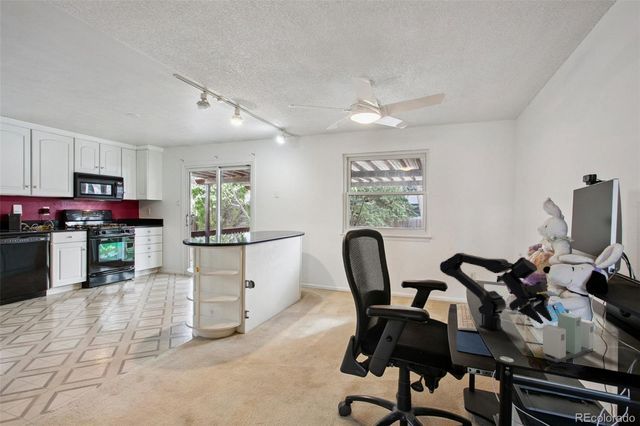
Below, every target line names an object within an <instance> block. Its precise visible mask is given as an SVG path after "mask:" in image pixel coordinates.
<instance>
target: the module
mask: <svg viewBox="0 0 640 426" xmlns="http://www.w3.org/2000/svg"><path fill="white" fill-rule="evenodd" d="M581 319H582V316H581V315H577V314H572V313H569V312H560V313H557V327H560V328H563V329H566V351H567V352H570V353H573V354H576V353H579V352H581Z"/></svg>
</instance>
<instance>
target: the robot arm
mask: <svg viewBox="0 0 640 426" xmlns="http://www.w3.org/2000/svg"><path fill="white" fill-rule="evenodd" d="M464 263H465V264H469V265H471V266H472V265H473V266H478V267H482V268H484V269H486V271H488V272H491V273H493V274H498V275H497V276H496V283H502V282H503V283H504V285H505V286H506V287H507V288H508V289H509V292H508V293H509V294H510V295H513V296H514V297H515V299H514V300H511V301H510V302H509V305H508V307H509V308H510V310H511V311H512V312H515V311H517V313H521V314H523V315H524V316H526V317H527V318H529V319H531V320H533V321H535V322H536V323H538V324H540V325H542V324H544V321H543V319H542V318H544V319H546V320H547V321H549V322H553V318H552V316H551V313H550V311H549V309H548V307H547V302H548V301H549V299H551V297H550V296H549V294H548V293H547V292H548V291H549V290H548V287H549V286H548V284H546V282H544V281H543V280H540V281H536V282H535V284H532V285H530V284H529V283H525V282H524V281H523V280H526V279H527V278H529V277H530V276H532V275H533V274H534V273H536V272H537V271H538V267H537V265H536V264H535V263H534V262H532V261H530V260H529V259H527V258H526V257H524V256H522V257H520V258H519V259H518V260H517V261H516V262H514V263H511V262H509V261H508V260H507V259H505V258H488V257H487V258H486V257H481V256H477V255H472V254H468V253H464V252H457V253H456V252H455V254H454V255H452V256H450V257H449V258H447V259H445V261H444V260H443V261H441V263H440V265H439V270H440V271H441V273H443V274H445V275H446V276H449V277H451V278H453V279H455V280H456V281H457V282H458V283H460V284H461V285H462V286H464V287H465V288H466V289H467V290H468V291H469V292H470V293H472V294H473V295H475V296H476V297H477V298H478V299H479V301H480V303H481V306H479V307H478V312H479V314H481V324H479V327H481V328H484V329H486V330H489V331H491V332H495V331H499V330H503V327H502V325H501V324H502V323H501V322H502V320H501V318H500V317H501V315H500V314H502V313H503V311H504V310H505V309H506V308H507V302H506V300H505V299H504V296H503V295H500V294H499V293H498V292H497V291H496V290H489V291H488V290H486V288H484V287H483V286H482V285H480V284H479V283H478V282H476V281H475V280H474V279H473V278H471V277H470V276H469V275H468V274H466V273H465V272H463V270H462V266H463V264H464ZM501 273H502V274H501ZM499 274H500V275H499ZM522 279H523V280H522ZM518 308H519V309H518Z"/></svg>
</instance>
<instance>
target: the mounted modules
mask: <svg viewBox="0 0 640 426" xmlns="http://www.w3.org/2000/svg"><path fill="white" fill-rule="evenodd" d="M581 347H584V348H587V349H591V348H593V349H594V348H595V321H592V320H588V319H583V318H581ZM542 353H543V354H544V353H546V354H549V355H551V356H554V357H557V358H559V359H560V358H563V357H566V329H563V328H560V327H558V326H555V325H554V324H553V325H552V324H544V325H542Z"/></svg>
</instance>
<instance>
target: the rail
mask: <svg viewBox="0 0 640 426" xmlns="http://www.w3.org/2000/svg"><path fill="white" fill-rule="evenodd" d="M593 351H594V348H591V349H587V348H584V347H581V352H579V353H576V354H573V353H570V352H567V351H566V357H563V358H560V359H559V358H557V357H554V356H551V355H549V354H546V353H543V358H545V359H547V360H549V361H552V362H555V363H560V362H563V361H566V360H569V359H572V358H575V357H578V356H581V355H582V356H583V355H584V354H588V353H590V352H593Z"/></svg>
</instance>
